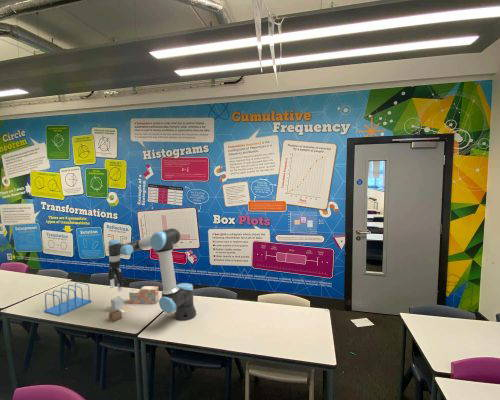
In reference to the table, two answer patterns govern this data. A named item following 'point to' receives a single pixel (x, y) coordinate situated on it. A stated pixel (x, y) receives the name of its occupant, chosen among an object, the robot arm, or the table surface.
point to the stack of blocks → (144, 295)
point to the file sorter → (67, 302)
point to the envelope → (125, 308)
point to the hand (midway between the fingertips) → (116, 289)
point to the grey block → (117, 303)
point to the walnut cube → (115, 315)
